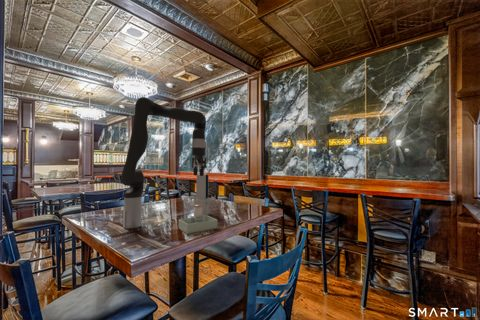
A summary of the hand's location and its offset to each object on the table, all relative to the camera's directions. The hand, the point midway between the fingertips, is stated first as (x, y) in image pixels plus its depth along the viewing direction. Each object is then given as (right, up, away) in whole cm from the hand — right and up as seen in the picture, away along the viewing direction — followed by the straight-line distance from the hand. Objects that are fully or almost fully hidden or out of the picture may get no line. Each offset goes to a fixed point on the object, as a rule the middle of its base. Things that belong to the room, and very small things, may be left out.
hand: (198, 175), depth 125 cm
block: (0, -30, -1) cm, 30 cm away
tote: (0, -30, -1) cm, 30 cm away
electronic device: (-4, -31, +32) cm, 45 cm away
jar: (0, -24, -1) cm, 24 cm away
